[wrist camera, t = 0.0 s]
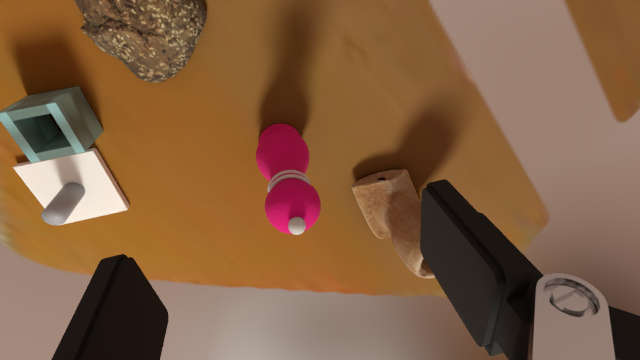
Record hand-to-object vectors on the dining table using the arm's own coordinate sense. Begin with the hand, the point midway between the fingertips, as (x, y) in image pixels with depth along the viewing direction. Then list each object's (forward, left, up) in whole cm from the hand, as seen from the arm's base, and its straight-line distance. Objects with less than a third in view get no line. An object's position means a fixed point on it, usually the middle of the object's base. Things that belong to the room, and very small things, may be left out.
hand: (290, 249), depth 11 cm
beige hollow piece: (+29, +17, -37) cm, 50 cm away
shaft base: (+14, -29, -37) cm, 49 cm away
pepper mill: (+14, 0, -37) cm, 40 cm away
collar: (+4, -25, -37) cm, 45 cm away
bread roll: (-5, -12, -37) cm, 39 cm away
